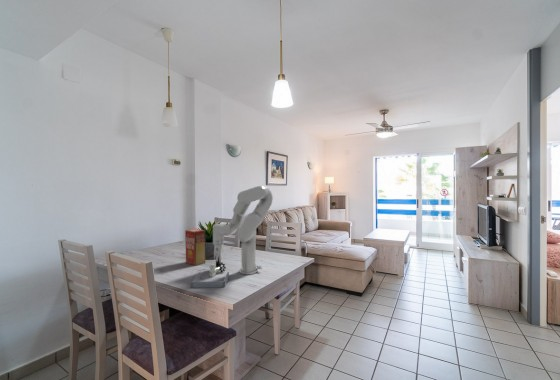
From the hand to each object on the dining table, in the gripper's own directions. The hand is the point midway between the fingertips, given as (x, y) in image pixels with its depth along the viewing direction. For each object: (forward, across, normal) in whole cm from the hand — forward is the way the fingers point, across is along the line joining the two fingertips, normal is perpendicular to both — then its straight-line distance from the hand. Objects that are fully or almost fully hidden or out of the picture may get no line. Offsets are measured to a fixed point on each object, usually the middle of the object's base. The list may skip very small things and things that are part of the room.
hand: (218, 268), depth 180 cm
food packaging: (+2, +18, +21) cm, 27 cm away
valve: (+2, -9, -1) cm, 9 cm away
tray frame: (+1, -22, 0) cm, 22 cm away
